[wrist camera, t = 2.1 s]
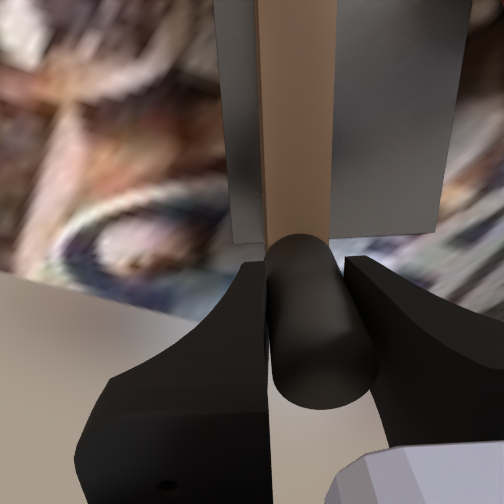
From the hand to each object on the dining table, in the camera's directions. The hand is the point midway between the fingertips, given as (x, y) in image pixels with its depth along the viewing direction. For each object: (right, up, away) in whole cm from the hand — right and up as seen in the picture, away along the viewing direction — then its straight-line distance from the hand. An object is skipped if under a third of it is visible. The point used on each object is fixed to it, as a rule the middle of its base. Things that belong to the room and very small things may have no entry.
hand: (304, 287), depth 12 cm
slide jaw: (0, +7, +2) cm, 8 cm away
